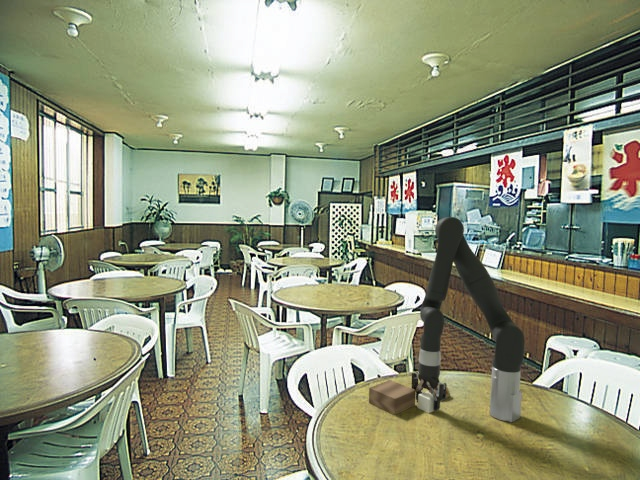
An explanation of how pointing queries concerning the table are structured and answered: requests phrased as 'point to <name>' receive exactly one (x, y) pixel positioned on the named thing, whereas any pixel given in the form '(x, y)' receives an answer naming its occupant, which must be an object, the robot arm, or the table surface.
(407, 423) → the table surface
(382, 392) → the walnut box
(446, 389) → the pastry
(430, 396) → the cube
